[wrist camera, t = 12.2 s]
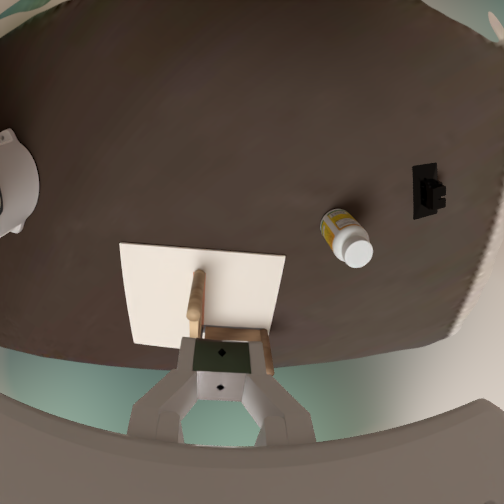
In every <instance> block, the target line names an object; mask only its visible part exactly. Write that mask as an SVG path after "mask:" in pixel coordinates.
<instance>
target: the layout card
mask: <svg viewBox="0 0 504 504" xmlns="http://www.w3.org/2000/svg"><path fill="white" fill-rule="evenodd" d="M119 245H120V255H121V264H122V272H123V280H124V288H125V294H126V301H127V307H128V313H129V319H130V324H131V330H132V335H133V340H134V343H138V344H145V345H153V346H162V347H171V348H180V345H181V339H182V337H190V329H189V320H188V319H187V317H186V314H187V308H188V303H189V297H190V292H191V287H192V281H193V276H194V272H195V271H196V270H203V271H204V272H205V282H204V289H203V297H202V325H201V326H202V327H203V336H202V338H203V339H204V338H205V327H219V328H235V329H255V330H260V329H267V331H268V335H269V331H270V327H271V322H272V318H273V313H274V309H275V304H276V300H277V295H278V290H279V286H280V281H281V276H282V271H283V267H284V262H285V257H286V256H285V255H274V254H262V253H249V252H237V251H224V250H212V249H199V248H187V247H174V246H162V245H149V244H137V243H124V242H120V243H119Z"/></svg>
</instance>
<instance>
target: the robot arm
mask: <svg viewBox="0 0 504 504" xmlns="http://www.w3.org/2000/svg"><path fill="white" fill-rule="evenodd" d="M38 195H39V177H38V172H37V168H36V165H35V162H34V160H33V158H32V156H31V154H30V153H29V151H28V150H27V149H26V148H25V147H24V146H23V145H22V144H21V143H20V142H19V141H18V140H17V138H16V136H15V134H14V132H13V130H12V129H10V128H9V129H6V130H4V131H2V132H0V238H1V237H2V236H4V235H5V234H7V233H8V232H10V231H11V232H13V233H19V232H21V231H22V229H23V226H24V223H25V220H26V219H27V217H28V216H29V215H30V214H31V213H32V212H33V210H34V208H35V206H36V204H37V200H38ZM197 399H200V400H223V401H240V402H242V404H243V405H244V407H245V408H246V409H247V411H248V412H249V413H250V415H251V416H252V417H253V419H254V420H255V421H256V423H257V424H258V426H259V427H260V428H261V430H260V432H259V435H258V438H257V440H256V443H255V446H248V447H247V446H245V447H244V446H212V445H211V446H210V445H195V444H185V443H184V439H183V433H182V427H181V420H182V419H183V418H184V417H185V415H186V414H187V413H188V412H189V410H190V409H191V408H192V407H193V405H194V404H195V403H196V402H197ZM0 504H504V411H502V410H501V409H500V408H499V407H497V406H496V405H494V404H493V403H491V402H490V401H487V400H486V399H477V400H475V401H472V402H470V403H468V404H465V405H463V406H460V407H458V408H455V409H453V410H450V411H447V412H444V413H442V414H439V415H436V416H433V417H430V418H427V419H424V420H421V421H418V422H414V423H411V424H407V425H403V426H400V427H396V428H392V429H388V430H384V431H379V432H375V433H371V434H366V435H360V436H356V437H350V438H344V439H338V440H330V441H323V442H316V438H315V434H314V430H313V425H312V421H311V417H310V413H309V412H308V411H307V410H306V409H305V408H304V407H302V406H301V405H300V404H299V403H298V402H297V401H296V400H295V399H294V398H293V397H292V396H291V395H290V394H289V393H288V392H287V391H286V390H285V389H284V388H283V387H282V386H281V385H280V384H279V383H278V382H277V381H276V380H275V379H274V378H273V377H272V375H270V374H267V373H266V366H265V358H264V351H263V344H262V342H260V341H231V340H213V339H203V338H191V337H182V339H181V345H180V351H179V358H178V364H177V369H172V370H171V371H170V372H169V373H168V374H167V375H166V376H165V377H164V378H163V379H162V380H160V381H159V382H158V383H157V384H156V385H155V386H154V387H153V388H152V389H151V390H149V391H148V392H147V393H146V394H145V395H144V396H143V397H142V398H140V399H139V400H138V401H137V402H136V403H135V404H134V405H133V408H132V412H131V417H130V421H129V426H128V431H127V435H125V434H120V433H115V432H111V431H107V430H103V429H98V428H94V427H91V426H87V425H84V424H80V423H77V422H74V421H70V420H67V419H64V418H61V417H58V416H55V415H52V414H49V413H47V412H44V411H41V410H39V409H36V408H33V407H31V406H28V405H26V404H24V403H21V402H19V401H17V400H14V399H12V398H10V397H8V396H6V395H4V394H2V393H0Z"/></svg>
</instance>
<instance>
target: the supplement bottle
mask: <svg viewBox="0 0 504 504" xmlns="http://www.w3.org/2000/svg"><path fill="white" fill-rule="evenodd" d="M320 229H321V233H322V235H323V237H324V238H325V240H326V241H327V243H328V244H329V246H330V248H331V249H332V251H333V252H334V254H335V255H336V257H337V258H338V259H340V260H342V261H344V262H346V263H347V265H349V266H350V267H353V268H359V267H362V266H364V265H366V264H367V263H368V262H369V261H370V259H371V257H372V254H373V248H372V245H371V244H370V243H369V236H368V234H367V232H366V231H365V229H364V228H363V227H362V226H361V225H360V224H359V223H358V222H357V221H356V220H355V219H354V218H353V217H352V216H351V215H350V214H349V213H348V212H347V211H345V210H343V209H334V210H331V211H329V212H328V213H326V214H325V215H324V217H323V218H322V221H321V225H320Z"/></svg>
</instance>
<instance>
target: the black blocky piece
mask: <svg viewBox="0 0 504 504" xmlns="http://www.w3.org/2000/svg"><path fill="white" fill-rule="evenodd" d="M412 170H413V202H414V214H413V219H414V220H415V219H419V218H422V217H426V216H429V215H433V214H437V209H440V208H444V207H445V206H446V198H441V196H445V195H446V186H444V185H442V182H439V181H438V180H437V163H430V164H423V165H417V166H413V167H412Z"/></svg>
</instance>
